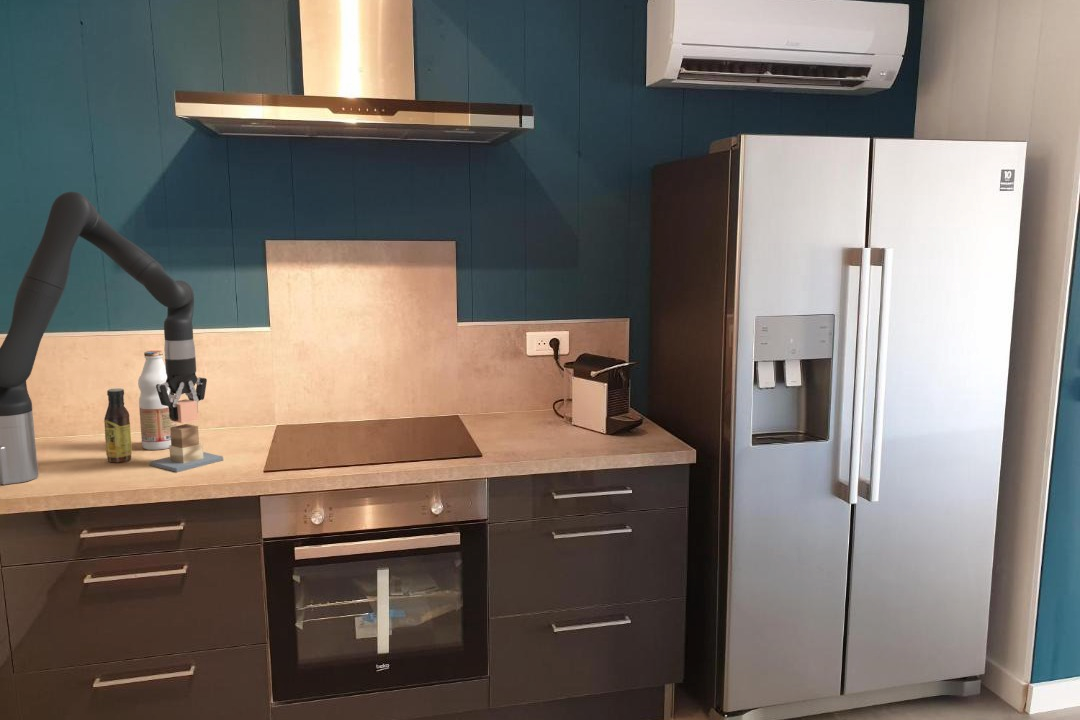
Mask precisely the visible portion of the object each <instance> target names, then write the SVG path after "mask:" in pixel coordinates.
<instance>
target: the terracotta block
mask: <svg viewBox="0 0 1080 720" xmlns="http://www.w3.org/2000/svg"><path fill="white" fill-rule="evenodd" d="M176 407H177V410H178V421H174V422H176V423H180V424H184V423H189V422H192V421H193V422H194V421H197V420H199V415H198V414H199V407H198V408H197V401H192V400H189V399H186V398H185V399H181V400H180V399H179V400H178V403H177V406H176ZM170 421H172V420H171V419H170Z"/></svg>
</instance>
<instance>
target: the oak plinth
mask: <svg viewBox="0 0 1080 720" xmlns="http://www.w3.org/2000/svg"><path fill="white" fill-rule="evenodd" d="M168 449H169V457H170V460H173V461H177V462H181V463H187V462H190V461H194V460H198V459H202V458H203V452H204V446H203V443H200V442H199V444H198V445H194V446H190V447H185V448H180V447H175V446H171V445H169V448H168Z"/></svg>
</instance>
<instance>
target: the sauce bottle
mask: <svg viewBox="0 0 1080 720" xmlns="http://www.w3.org/2000/svg"><path fill="white" fill-rule="evenodd" d="M106 392H107V393H106V396H107V399H108V404H107V405H108V406H107V409H106V412H105V415H104V439H105V451H106V453H105V454H106V457H107V460H106V461H108V462H109V463H113V464H115V463H124V462H128V461H131V460H132V452H133V451H132V434H131V433H132V431H131V430H132V429H131V422H130V421H131V420H130V412H129V410H128V409H127V407H125V402H124V401H125V399H124V397H125V390H124V389H123V388H116V387H115V388H109V389H108V390H107V391H106Z"/></svg>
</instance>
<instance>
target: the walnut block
mask: <svg viewBox="0 0 1080 720" xmlns="http://www.w3.org/2000/svg"><path fill="white" fill-rule="evenodd" d="M170 433H171V446H175V447H180V448H185V447H190V446H194V445H198V444H199V443H200V437H199V436H200V435H199V425H194V424H190V423H189V424H188V423H186V424H184V423H183V424H180V425H176V426H175V427H170Z"/></svg>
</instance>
